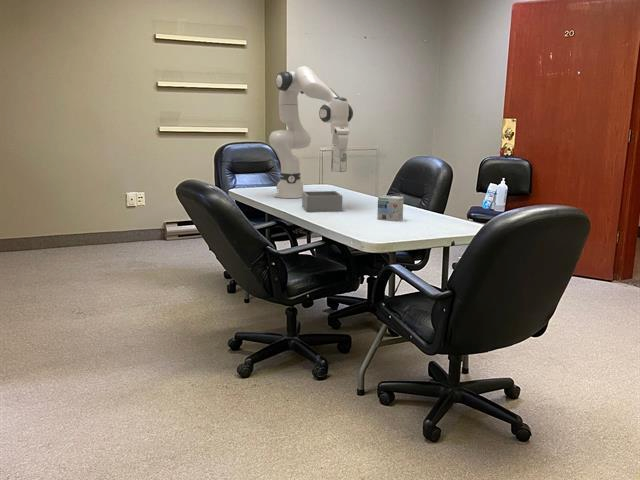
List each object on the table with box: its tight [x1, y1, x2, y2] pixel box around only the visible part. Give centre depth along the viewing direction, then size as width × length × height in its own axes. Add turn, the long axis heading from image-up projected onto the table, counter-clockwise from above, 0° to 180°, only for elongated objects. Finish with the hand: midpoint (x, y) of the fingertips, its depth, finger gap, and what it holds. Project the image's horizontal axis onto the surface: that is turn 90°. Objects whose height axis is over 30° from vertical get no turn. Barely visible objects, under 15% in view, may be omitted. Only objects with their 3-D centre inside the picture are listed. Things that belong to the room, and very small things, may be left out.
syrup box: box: [330, 143, 348, 173], centre depth 304 cm, size 6×6×14 cm
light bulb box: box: [376, 194, 405, 222], centre depth 278 cm, size 11×7×11 cm, turn 62°
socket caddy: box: [301, 190, 343, 213], centre depth 306 cm, size 18×18×8 cm
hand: (339, 157), depth 304 cm, fingers closed on syrup box, 8 cm apart
